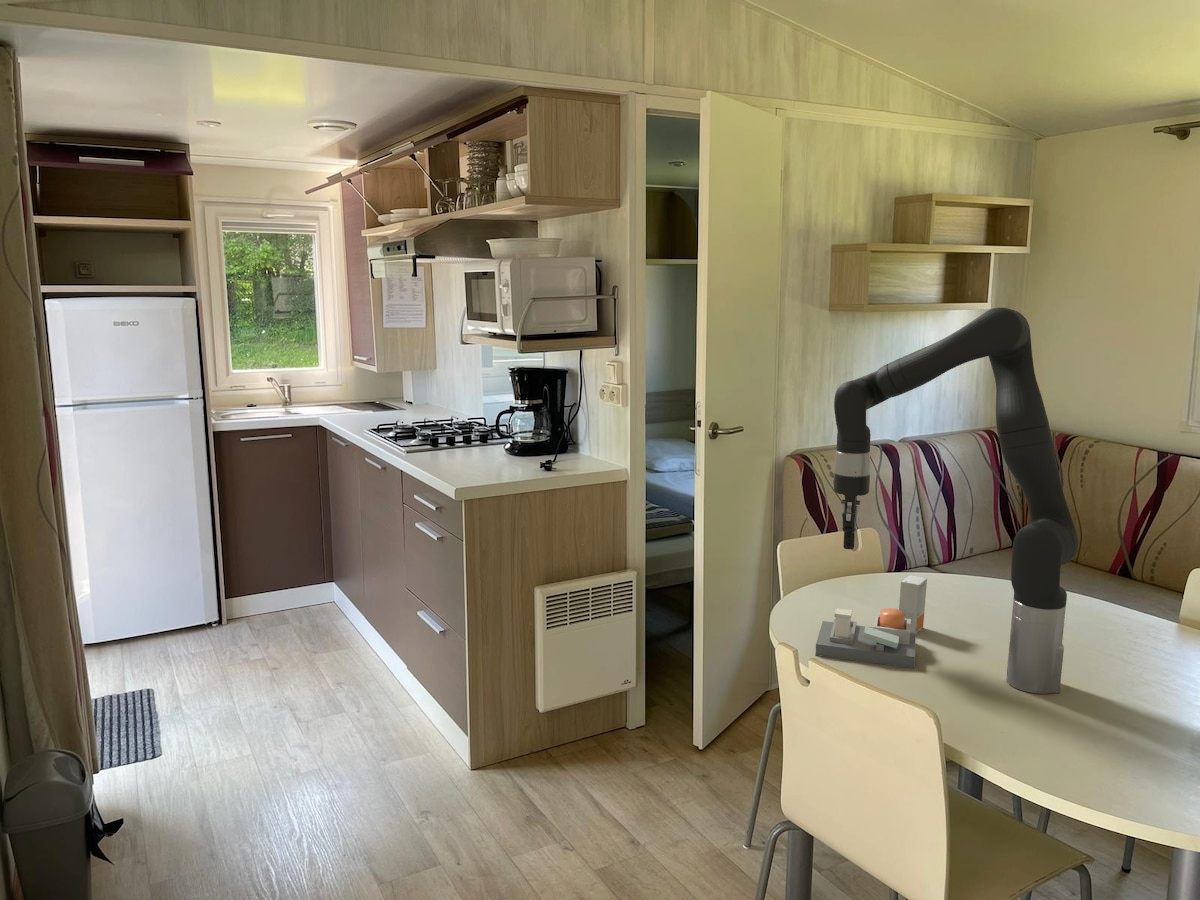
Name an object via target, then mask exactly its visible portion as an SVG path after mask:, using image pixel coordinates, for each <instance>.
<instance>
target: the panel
mask: <svg viewBox="0 0 1200 900" xmlns="http://www.w3.org/2000/svg"><path fill="white" fill-rule="evenodd" d="M880 615H881V614H880ZM880 615H879V614H874V617H873V618H874V619H873V624H872V626H870V627H871V628H874V629H877V630H880V631H883V632H886V633H889V634H892V635H896V636H899V640H898V646H897V649H896V648H893V647H890V646H887V645H884V644H881V643H877V642H874V641H871V640H868V639H865V638H863V634H864V629H865V626H866V625H858V624H857V621H855V620H851V624H850V637H849V638H841V637H835V618H834V619H833V621H824V620H822V623H821V626H820V629H819V632H818V636H817V640H816V643H815V656H819V655H822V656H821V657H825V658H826V657H828V658H834V659H843V660H850V661H856V662H857V661H858V662H863V663H864V662H865V663H871V664H872V663H873V664H878V665H879V664H881V665H887V666H893V667H901V668H909V669H915V665H916V664H915V663H916V635H917V633H916V632H910V626H911V619H905V620H904V629H896V628H888V627H880Z"/></svg>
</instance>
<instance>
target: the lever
mask: <svg viewBox="0 0 1200 900" xmlns="http://www.w3.org/2000/svg"><path fill="white" fill-rule="evenodd" d="M852 616H853V610H852V609H847V608H835V611H834V619H835V637H841V638H849V637H850V624H851V621H852Z"/></svg>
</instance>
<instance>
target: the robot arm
mask: <svg viewBox="0 0 1200 900" xmlns="http://www.w3.org/2000/svg"><path fill="white" fill-rule="evenodd" d="M985 357H986V358H987V357H988V360H989V363H990V365H991V369H992V373H993V377H994V380H995V381H994V382H995V390H996V391H995V393H996V394H995V395H996V396H995V424H996V432H997V437H998V441H999V446H1000V450H1001V454H1002V457H1003V460H1004V463H1005V464H1006V466H1007V468H1008V470H1009V471H1010V474H1011V475H1012V476H1013V477H1014V479H1015V481H1016V482H1017V484H1018V485H1019V487H1020V488H1021V490H1022V493H1023V494H1024V498H1025V499H1026V504H1027V509H1028V514H1029V519H1030V523H1029V524H1027V525H1025V526H1023V527H1021V528H1020V529H1019V530H1018V531H1017V533H1016V534H1015V536H1014V538H1013V543H1012V551H1011V566H1010V567H1011V573H1010V582H1011V586H1012V589H1013V598H1012V599H1013V600H1012V613H1011V622H1010V633H1009V645H1008V656H1007V667H1006V682H1007V683H1008V684H1009V685H1010V686H1011V687H1013V688H1015V689H1018V690H1020V691H1024V692H1026V693H1032V694H1041V695H1042V694H1043V695H1045V694H1060V692H1061V691H1060V690H1061V682H1062V673H1063V672H1062V671H1063V662H1064V661H1063V660H1064V654H1065V653H1064V651H1065V650H1064V649H1065V647H1064V644H1063V640H1064V639H1063V637H1064V628H1065V619H1066V610H1067V609H1066V608H1067V600H1068V599H1067V598H1068V595H1067V594H1068V592H1067V591H1066V589H1065V588H1063V587H1062V586H1061V584H1060V583H1061V567H1062V566H1063V565H1065V564H1067V563H1070V562H1071V561H1072V560H1073V559H1074V558H1075V557H1076V555H1077V553H1078V550H1079V537H1078V533H1077V530H1076V527H1075V524H1074V521H1073V518H1072V515H1071V512H1070V509H1069V506H1068V502H1067V500H1066V498H1065V497H1066V496H1065V493H1064V489H1063V485H1062V480H1061V476H1060V470H1059V466H1058V463H1057V458H1056V452H1055V446H1054V441H1053V437H1052V433H1051V432H1052V431H1051V426H1050V423H1049V419H1048V414H1047V412H1046V407H1045V404H1044V400H1043V397H1042V393H1041V391H1040V388H1039V387H1040V386H1039V384H1038V380H1037V377H1036V374H1035V367H1034V359H1033V358H1034V357H1033V349H1032V338H1031V328H1030V324H1029V322H1028V320H1027V319H1026V317H1025V316H1024V315H1023V314H1022V313H1021V312H1019V311H1017V310H1015V309H1011V308H1008V307H1001V306H1000V307H994V308H990V309H988V310H986V311H985V312H984V313H982V314H981V315H979V316H978V317H976V318H975V319H973V320H972V321H970V322H969V323H966V324H965V325H964V326H962V327H961V328H960V329H958V330H956V331H954V332H953V333H951V334H948V335H947V336H946V337H944V338H942V339H940V340H938V341H936V342H934V343H931V344H929V345H927V346H925V347H923V348H920V349H918V350H915V351H913V352H910V353H909V354H907V355H904V356H902V357H899V358H897V359H895V360H893V361H891V362H889V363H886V364H885V365H883V366H881V367H880V368H878V369H877V370H876V371H872V372H871V373H869V374H865V375H864V376H863V375H862V376H861V377H859V378H856V379H853V380H848V381H845V382H843V383H842V384H841V385H839V387H838V388H837V389H836V390H835V395H834V400H833V408H834V409H833V410H834V418H835V424H836V429H837V432H836V433H837V434H836V449H835V450H836V452H835V457H834V458H835V459H834V469H833V472H834V473H833V475H834V477H833V491H834V493H835V494H838V495H843V496H844V499H841V502H840V510H841V523H842V527H841V528H842V532H843V549H844V550H852V551H853V550H854V548H855V537H856V535H855V534H856V532H857V531H856V530H857V526H858V522H859V516H860V515H859V513H860V509H861V503H862V501H861V500H859V499H858V496H861V497H862V496H866V495H868V494H869V493H870V486H871V485H870V483H871V482H870V481H871V479H870V478H871V454H870V453H871V429H870V427H869V426H868V425H867V410H869V409H871V408H873V407H875V406H877V405H879V404H882V403H883V402H885V401H887V400H889V399H891V398H894V397H898V396H900V395H903V394H906V393H909V392H910V391H912V390H915V389H917V388H919V387H921V386H924V385H925V384H927V383H929V382H931V381H933V380H935V379H937V378H938V377H940V376H942V375H944V374H945V373H947V372H948V371H950V370H953V369H955V368H957V367H959V366H961V365H964V364H966V363H968V362H971V361H974V360H978V359H982V358H985Z"/></svg>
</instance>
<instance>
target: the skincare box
mask: <svg viewBox="0 0 1200 900" xmlns="http://www.w3.org/2000/svg"><path fill="white" fill-rule="evenodd" d="M927 584H928V578H925V577H921V576H915V575H908V576H906V577H905V578H903V580H901V582H900V590H899V601H898V603H899V604H898V610H901V611H903V612H904V613H905V619H911V626H910V632H916V634H918V632H919V631H921V630H922V629H923V628H924V623H925V608H926V598H927V587H928V586H927Z"/></svg>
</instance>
